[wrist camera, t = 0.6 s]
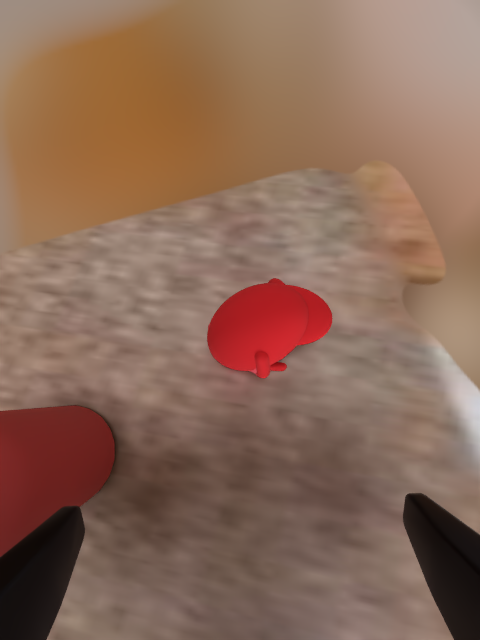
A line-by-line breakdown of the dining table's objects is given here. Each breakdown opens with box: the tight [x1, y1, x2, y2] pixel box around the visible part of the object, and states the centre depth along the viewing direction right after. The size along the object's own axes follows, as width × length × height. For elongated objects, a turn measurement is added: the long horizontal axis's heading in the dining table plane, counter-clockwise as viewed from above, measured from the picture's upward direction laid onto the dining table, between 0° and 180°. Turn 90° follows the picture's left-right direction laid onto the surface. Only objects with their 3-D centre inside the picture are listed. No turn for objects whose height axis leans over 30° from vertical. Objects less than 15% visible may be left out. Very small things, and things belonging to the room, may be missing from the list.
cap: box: [207, 278, 332, 378], centre depth 21 cm, size 8×6×6 cm
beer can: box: [0, 405, 115, 557], centre depth 16 cm, size 7×7×12 cm
